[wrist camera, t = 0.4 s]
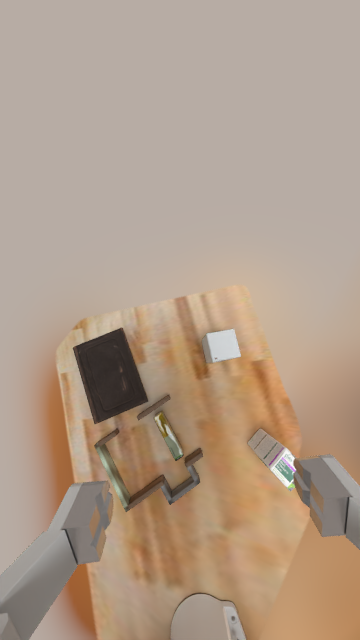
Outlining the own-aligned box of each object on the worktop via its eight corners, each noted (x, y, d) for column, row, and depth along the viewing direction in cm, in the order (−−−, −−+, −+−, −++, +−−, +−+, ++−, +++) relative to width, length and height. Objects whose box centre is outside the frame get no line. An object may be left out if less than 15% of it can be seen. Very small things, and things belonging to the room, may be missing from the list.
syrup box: (246, 442, 54) (268, 470, 40) (260, 426, 55) (287, 448, 41) (262, 459, 53) (290, 494, 39) (276, 443, 54) (309, 470, 40)
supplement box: (229, 359, 59) (242, 357, 47) (205, 363, 59) (211, 363, 47) (224, 335, 61) (234, 328, 49) (201, 339, 61) (205, 333, 49)
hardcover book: (123, 329, 62) (121, 327, 60) (149, 400, 58) (147, 401, 55) (75, 348, 61) (71, 347, 59) (97, 422, 56) (93, 424, 54)
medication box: (183, 449, 54) (184, 456, 50) (175, 455, 54) (175, 462, 50) (162, 409, 57) (161, 412, 53) (154, 414, 56) (152, 418, 52)
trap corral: (211, 467, 53) (213, 473, 50) (137, 521, 51) (135, 530, 48) (168, 394, 57) (167, 396, 54) (98, 441, 55) (94, 445, 52)
